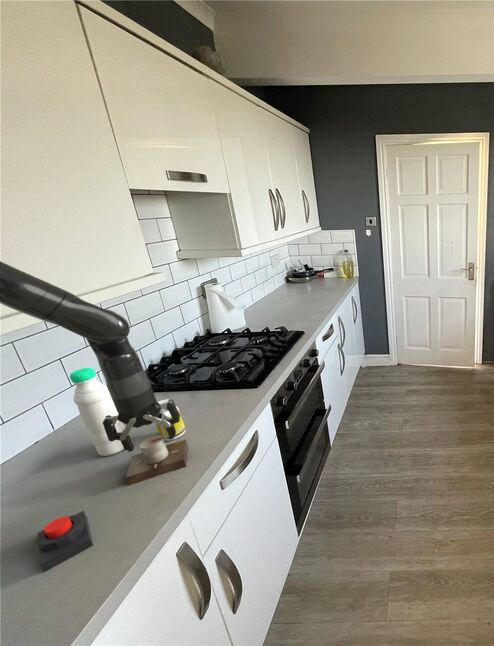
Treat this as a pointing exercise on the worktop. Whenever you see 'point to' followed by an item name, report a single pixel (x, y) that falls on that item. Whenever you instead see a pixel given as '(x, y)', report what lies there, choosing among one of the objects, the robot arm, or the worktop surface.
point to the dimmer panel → (145, 471)
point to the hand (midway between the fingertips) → (152, 443)
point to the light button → (58, 527)
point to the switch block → (65, 543)
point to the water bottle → (96, 409)
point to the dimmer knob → (154, 449)
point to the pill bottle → (178, 426)
